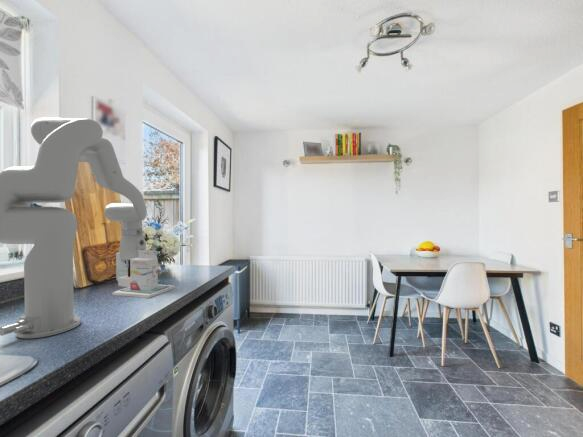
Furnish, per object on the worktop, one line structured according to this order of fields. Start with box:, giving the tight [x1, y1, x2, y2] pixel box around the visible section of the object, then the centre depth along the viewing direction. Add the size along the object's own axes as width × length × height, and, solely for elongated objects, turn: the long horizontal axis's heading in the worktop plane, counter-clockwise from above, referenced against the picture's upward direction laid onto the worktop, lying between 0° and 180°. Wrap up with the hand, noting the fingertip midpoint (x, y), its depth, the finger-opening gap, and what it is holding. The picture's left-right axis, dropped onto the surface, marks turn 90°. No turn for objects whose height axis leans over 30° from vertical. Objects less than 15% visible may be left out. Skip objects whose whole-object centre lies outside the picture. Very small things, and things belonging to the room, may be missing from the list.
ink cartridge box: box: [130, 249, 159, 291], centre depth 105 cm, size 9×5×15 cm, turn 82°
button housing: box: [117, 275, 130, 288], centre depth 116 cm, size 7×7×4 cm
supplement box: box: [115, 252, 128, 282], centre depth 126 cm, size 7×7×13 cm
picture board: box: [112, 283, 176, 299], centre depth 106 cm, size 14×16×1 cm
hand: (132, 276), depth 116 cm, fingers closed
